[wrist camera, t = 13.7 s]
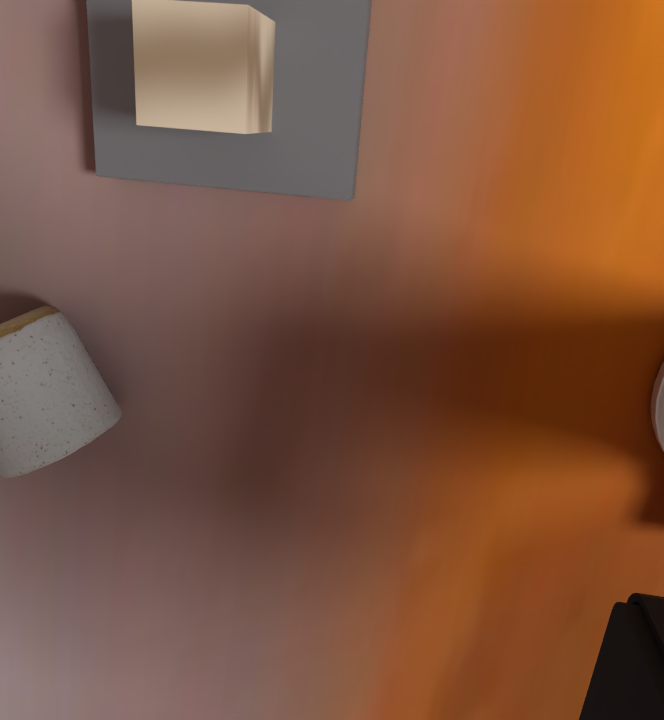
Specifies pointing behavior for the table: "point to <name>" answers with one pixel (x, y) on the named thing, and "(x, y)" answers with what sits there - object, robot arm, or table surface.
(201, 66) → the beech cube
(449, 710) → the table surface
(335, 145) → the serving board
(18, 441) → the ceramic mug
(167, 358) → the table surface
